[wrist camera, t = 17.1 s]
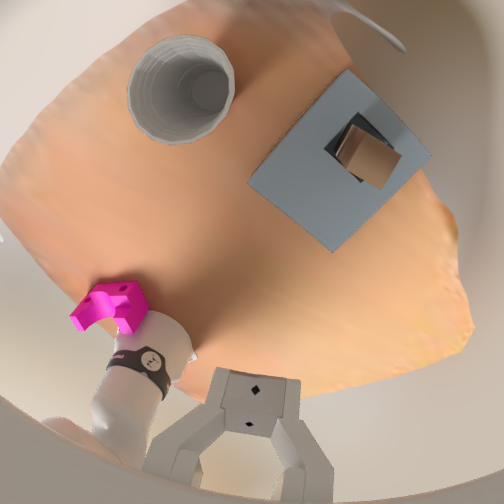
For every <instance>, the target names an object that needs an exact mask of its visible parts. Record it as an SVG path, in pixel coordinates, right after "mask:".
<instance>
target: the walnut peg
mask: <svg viewBox="0 0 504 504" xmlns="http://www.w3.org/2000/svg"><path fill="white" fill-rule="evenodd" d="M334 152H335V153H336V156H337V157H338V158H339V160H340V161H341V163H342V165H343V166H344V168H345V170H347V171H349V172H350V173H352V174H354V175H356V176H357V177H359V178H361V179H363V180H364V181H366V182H368V183H369V184H371V185H373V186H374V187H376V188H378V189H379V190H382V188H383V187H384V185H385V183H386V182H387V180H388V178H389V177H390V175H391V173H392V172H393V170H394V168H395V167H396V165H397V163H398V162H399V160H400V158H401V157H402V155H401V154H399V153H398V152H396V151H395V150H393V149H392V148H390V147H389V146H387V145H385V144H384V143H383V142H381V141H380V140H378V139H377V138H375V137H373V136H372V135H370V134H369V133H367V132H365V131H364V130H362V129H360V128H359V127H357V126H355V125H353V124H350V123H348V124H347V126H346V128H345V130H344V132H343V133H342V135H341V137H340V139H339V141H338V143H337V144H336V146H335V148H334Z"/></svg>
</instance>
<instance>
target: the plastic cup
mask: <svg viewBox="0 0 504 504" xmlns="http://www.w3.org/2000/svg"><path fill="white" fill-rule="evenodd" d="M234 94H235V81H234V69H233V67H232V65H231V63H230V61H229V60H228V58H227V56H226V54H225V52H224V50H222V49H221V48H219V47H218V46H217V45H215V44H214V43H212V42H211V41H210V40H208V39H207V38H203V37H197V36H192V35H180V36H176V37H171V38H167V39H164V40H162V41H161V42H159V43H157V44H156V45H154V46H153V47H152V48H150V49H149V50H147V51H146V52H145V53H144V54H143V56H142V57H141V58H140V60H139V61H138V62H137V64H136V65H135V67H134V68H133V70H132V73H131V77H130V80H129V83H128V87H127V99H128V110H129V112H130V114H131V116H132V118H133V120H134V122H135V124H136V126H137V127H138V128H139V129H140V130H141V131H142V132H143V133H144V134H146V135H147V136H148V137H149V138H150V139H151V140H155V141H158V142H161V143H164V144H168V145H178V144H188V143H193V142H195V141H196V140H198V139H200V138H202V137H204V136H206V135H208V134H210V133H212V131H213V130H214V129H215V128H216V127H217V126H218V124H219V123H220V122H221V121H222V120H223V119H224V118H225V116H226V115H227V114H228V111H229V108H230V105H231V102H232V100H233V97H234Z"/></svg>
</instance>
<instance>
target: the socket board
mask: <svg viewBox="0 0 504 504" xmlns="http://www.w3.org/2000/svg"><path fill="white" fill-rule="evenodd" d="M348 123H350V124H353V125H355V126H357V127H359V128H360V129H362V130H364V131H365V132H367V133H369V134H370V135H372V136H373V137H375V138H377V139H378V140H380V141H381V142H383V143H384V144H385V145H387V146H389V147H390V148H392V149H393V150H395V151H396V152H398V153H399V154H401V155H402V157H401V158H400V160H399V162H398V163H397V165H396V167H395V168H394V170H393V172H392V173H391V175H390V177H389V178H388V180H387V182H386V183H385V185H384V187H383V188H382V190H379V189H378V188H376V187H374V186H373V185H371V184H369V183H368V182H366V181H364V180H363V179H361V178H359V177H357V176H356V175H354V174H352V173H350V172H349V171H347V170H345V168H344V166H343V165H342V163H341V161H340V160H339V158H338V157H337V156H336V153H335V152H334V148H335V146H336V144H337V143H338V141H339V139H340V137H341V135H342V133H343V132H344V130H345V128H346V126H347V124H348ZM431 156H432V155H431V154H430V153H429V152H428V150H427V149H426V148H425V147H424V145H423V144H422V143H421V142H420V141H419V140H418V138H417V137H416V136H415V135H414V134H413V133H412V131H411V130H410V129H409V128H408V127H407V126H406V125H405V124H404V123H403V121H402V120H401V119H400V118H399V117H398V116H397V115H396V114H395V113H394V112H393V111H392V110H391V109H390V108H389V107H388V106H387V105H386V104H385V103H384V102H383V101H382V100H381V99H380V98H379V97H378V96H377V95H376V94H375V93H374V92H373V91H372V90H371V89H370V88H369V87H368V86H367V85H366V84H365V83H363V82H362V81H361V80H360V79H359V78H358V77H357V76H356V75H354V74H353V73H352V72H351V71H350V70H349V69H346V70H344V71H343V72H342V73H341V74H340V75H339V76H338V77H337V78H336V79H335V80H334V81H333V82H332V83H331V84H330V85H329V87H328V88H327V89H326V90H325V91H324V92H323V93H322V94H321V95H320V96H319V97H318V99H317V100H316V101H315V102H314V103H313V104H312V105H311V106H310V107H309V109H308V110H307V111H306V112H305V113H304V114H303V115H302V116H301V118H300V119H299V120H298V121H297V122H296V123H295V124H294V126H293V127H292V128H291V129H290V130H289V131H288V132H287V134H286V135H285V136H284V137H283V138H282V139H281V141H280V142H279V143H278V144H277V145H276V146H275V148H274V149H273V150H272V151H271V152H270V153H269V155H268V156H267V157H266V158H265V159H264V161H263V162H262V163H261V164H260V165H259V166H258V168H257V169H256V170H255V171H254V173H253V174H252V175H251V177H250V179H249V180H248V182H247V184H248V185H249V186H251V187H252V188H253V189H255V190H256V191H257V192H258V193H260V194H261V195H262V196H263V197H265V198H266V199H267V200H269V201H270V202H271V203H272V204H274V205H275V206H276V207H277V208H279V209H280V210H281V211H282V212H284V213H285V214H286V215H287V216H289V217H290V218H291V219H292V220H293V221H295V222H296V223H297V224H298V225H300V226H301V227H302V228H303V229H305V230H306V231H307V232H308V233H309V234H311V235H312V236H313V237H314V238H315V239H317V240H318V241H319V242H320V243H321V244H323V245H324V246H325V247H326V248H327V249H328V250H330V251H331V252H332V253H333V252H334V251H335V250H336V249H337V248H339V247H340V246H341V245H342V244H343V243H344V242H345V241H346V240H347V239H348V238H349V237H350V236H351V235H352V234H354V233H355V232H356V231H357V230H358V229H359V228H360V227H361V226H362V225H363V224H364V223H365V222H366V221H367V220H368V219H369V218H370V217H371V216H372V215H373V214H374V213H376V212H377V211H378V210H379V209H380V208H381V207H382V206H383V205H384V204H385V203H386V202H387V201H388V200H389V199H390V198H391V197H392V196H393V195H394V194H395V193H396V192H397V191H398V190H399V189H400V188H401V187H402V186H403V185H404V184H405V183H406V182H407V181H408V180H409V179H410V178H411V177H412V176H413V175H414V174H415V173H416V171H417V170H418V169H419V168H420V167H421V166H422V165H423V164H424V163H425V162H426V161H427V160H428V159H429V158H430V157H431Z"/></svg>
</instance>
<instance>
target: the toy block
mask: <svg viewBox="0 0 504 504" xmlns="http://www.w3.org/2000/svg"><path fill="white" fill-rule="evenodd" d="M149 308H150V307H149V305H148V303H147V301H146V299H145V297H144V295H143V293H142V291H141V289H140V287H139V284H138V282H137V281H130V282H116V283H101V284H97V285H96V286H95V287H94V288H93V289H92V290H91V292H90V293H89V294H87V296H86V297H85V298H84V299H83V300H82V301H81V303H80V304H79V305H78V306H77V308H76V309H75V310H74V311H73V312H72V314H71V315H70V318H71V320H72V321H73V323H74V324H75V326H76V328H77V329H78V330H79V331H85V330H86V329H87V328H88V327H89V326H90V325H92V324H93V323H95V322H96V321H98V320H100V319H103V318H107V317H113V319H114V320H115V322H116V324H117V326H118V327H119V329H120V331H121V332H122V334H134V333H135V331H136V330H137V328H138V326H139V325H140V323H141V321H142V320H143V318H144V316H145V315H146V313H147V311H148V310H149Z"/></svg>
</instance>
